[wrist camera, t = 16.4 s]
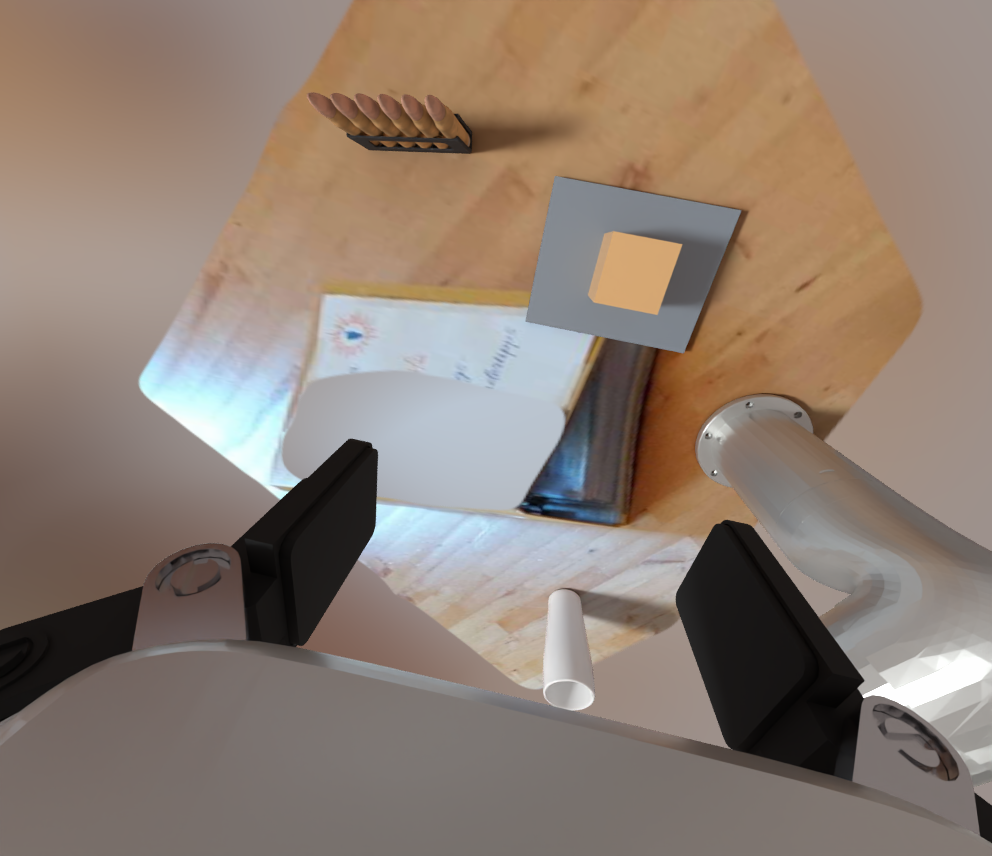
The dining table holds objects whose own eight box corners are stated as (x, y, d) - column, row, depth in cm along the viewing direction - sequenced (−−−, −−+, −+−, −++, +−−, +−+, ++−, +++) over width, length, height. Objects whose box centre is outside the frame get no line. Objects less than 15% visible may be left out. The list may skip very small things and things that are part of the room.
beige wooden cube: (663, 244, 38) (682, 244, 32) (642, 306, 40) (657, 315, 35) (604, 233, 38) (613, 231, 32) (587, 295, 40) (593, 302, 35)
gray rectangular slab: (736, 211, 36) (760, 206, 32) (680, 350, 43) (694, 361, 39) (554, 177, 37) (555, 169, 33) (526, 320, 43) (523, 327, 39)
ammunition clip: (472, 130, 36) (439, 81, 26) (471, 153, 37) (440, 115, 26) (366, 127, 37) (293, 78, 27) (368, 150, 38) (297, 111, 27)
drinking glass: (566, 618, 64) (571, 717, 50) (535, 598, 63) (532, 694, 49) (594, 598, 61) (607, 697, 48) (562, 577, 60) (566, 672, 46)
